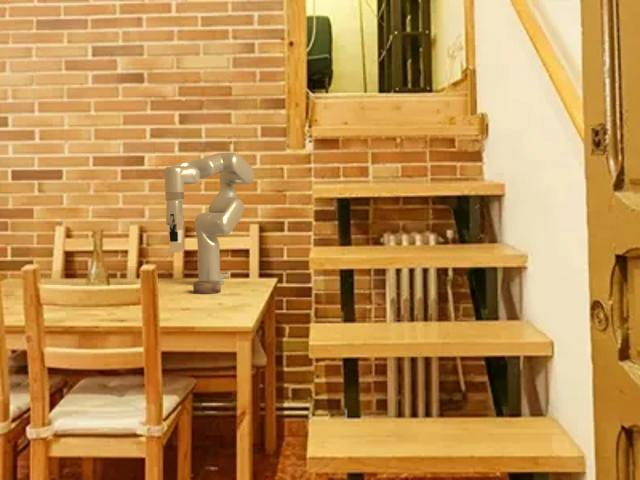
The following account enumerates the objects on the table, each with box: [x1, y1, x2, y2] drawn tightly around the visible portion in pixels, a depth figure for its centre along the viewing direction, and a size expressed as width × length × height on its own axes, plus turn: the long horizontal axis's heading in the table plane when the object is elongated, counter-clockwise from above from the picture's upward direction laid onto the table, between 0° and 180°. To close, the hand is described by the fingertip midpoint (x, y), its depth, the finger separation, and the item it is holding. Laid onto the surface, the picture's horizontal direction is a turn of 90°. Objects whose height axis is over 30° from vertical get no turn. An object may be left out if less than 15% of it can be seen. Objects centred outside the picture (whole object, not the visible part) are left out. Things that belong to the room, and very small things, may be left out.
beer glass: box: [166, 214, 185, 253], centre depth 292 cm, size 7×7×15 cm
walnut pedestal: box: [192, 280, 221, 295], centre depth 293 cm, size 11×11×4 cm
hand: (176, 240), depth 292 cm, fingers closed on beer glass, 6 cm apart
